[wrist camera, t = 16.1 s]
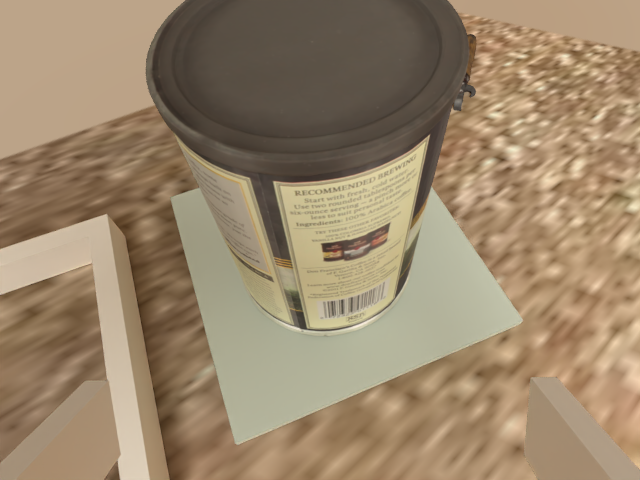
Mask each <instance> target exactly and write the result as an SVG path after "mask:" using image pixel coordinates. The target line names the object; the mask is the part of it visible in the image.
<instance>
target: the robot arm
mask: <svg viewBox="0 0 640 480" xmlns="http://www.w3.org/2000/svg"><path fill="white" fill-rule="evenodd" d="M120 455H121V453H120V447H119V440H118V434H117V428H116V422H115V416H114V410H113V404H112V398H111V391H110V385H109V380H99V381H84V382H83V383H82V384H81V385H80V386H79V387H78V388H77V389H76V390H75V391H74V392H73V393H72V394H71V395H70V396H69V397H68V398H67V399H66V400H65V401H64V402H63V403H62V404H61V405H60V406H59V407H58V408H56V409H55V410H54V411H53V412H52V413H51V414H50V415H49V416H48V417H47V418H46V419H45V420H44V421H43V422H42V423H41V424H40V425H39V426H38V427H37V428H36V429H35V430H34V431H33V432H32V433H31V434H30V435H29V436H28V437H27V438H25V439H24V440H23V441H22V442H21V443H20V444H19V445H18V446H17V447H16V448H15V449H14V450H13V451H12V452H11V453H10V454H9V455H8V456H7V457H6V458H5V459H4V460H3V461H2V462H1V463H0V480H104V479H105V477H106V476H107V474H108V473H109V471H110V470H111V468H112V467H113V466H114V464H115V463H116V461H117V460H118V458H119V457H120ZM524 456H525V458H526V460H527V462H528V463H529V465H530V467H531V468H532V470H533V472H534V474H535V475H536V477H537V479H538V480H640V470H639V468H638V467H637V466H636V465H635V464H634V463H633V462H632V461H631V460H630V458H629V457H628V456H627V455H626V454H625V453H624V452H623V451H622V450H621V448H620V447H619V446H618V445H617V444H616V443H615V442H614V441H613V439H612V438H611V437H610V436H609V435H608V434H607V433H606V432H605V431H604V429H603V428H602V427H601V426H600V425H599V424H598V423H597V422H596V421H595V419H594V418H593V417H592V416H591V415H590V414H589V413H588V412H587V410H586V409H585V408H584V407H583V406H582V405H581V404H580V403H579V402H578V400H577V399H576V398H575V397H574V396H573V395H572V394H571V393H570V392H569V390H568V389H567V388H566V387H565V386H564V385H563V384H562V383H561V382H560V380H559V379H558V378H557V377H531V379H530V390H529V402H528V413H527V425H526V436H525V448H524Z"/></svg>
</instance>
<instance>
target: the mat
mask: <svg viewBox="0 0 640 480" xmlns="http://www.w3.org/2000/svg"><path fill="white" fill-rule="evenodd" d="M170 199H171V203H172V207H173V210H174V214H175V218H176V222H177V225H178V229H179V233H180V237H181V241H182V244H183V248H184V252H185V256H186V260H187V263H188V267H189V271H190V275H191V278H192V282H193V286H194V290H195V294H196V297H197V301H198V305H199V309H200V313H201V316H202V320H203V324H204V328H205V331H206V335H207V339H208V343H209V347H210V350H211V354H212V358H213V362H214V366H215V369H216V373H217V377H218V381H219V384H220V388H221V392H222V396H223V400H224V403H225V407H226V411H227V415H228V418H229V422H230V426H231V430H232V434H233V437H234V441H235V444H237V445H239V444H241V443H244V442H246V441H248V440H251V439H253V438H255V437H258V436H260V435H262V434H265V433H267V432H269V431H272V430H274V429H276V428H279V427H281V426H283V425H286V424H288V423H290V422H293V421H295V420H297V419H300V418H302V417H304V416H307V415H309V414H311V413H314V412H316V411H318V410H321V409H323V408H325V407H328V406H330V405H332V404H335V403H337V402H340V401H342V400H344V399H347V398H349V397H351V396H354V395H356V394H358V393H361V392H363V391H365V390H368V389H370V388H372V387H375V386H377V385H379V384H382V383H384V382H386V381H389V380H391V379H393V378H396V377H398V376H400V375H403V374H405V373H407V372H410V371H412V370H414V369H417V368H419V367H421V366H424V365H426V364H428V363H431V362H433V361H435V360H438V359H440V358H442V357H445V356H447V355H449V354H452V353H454V352H456V351H459V350H461V349H464V348H466V347H468V346H471V345H473V344H475V343H478V342H480V341H482V340H485V339H487V338H489V337H492V336H494V335H496V334H499V333H501V332H503V331H506V330H508V329H510V328H513V327H515V326H517V325H520V324H521V323H522V321H523V319H522V318H521V316H520V315H519V313H518V312H517V310H516V309H515V308H514V306H513V305H512V303H511V302H510V300H509V299H508V297H507V296H506V294H505V293H504V291H503V290H502V289H501V287H500V286H499V284H498V283H497V281H496V280H495V278H494V277H493V275H492V274H491V273H490V271H489V270H488V268H487V267H486V265H485V264H484V262H483V261H482V259H481V258H480V256H479V255H478V254H477V252H476V251H475V249H474V248H473V246H472V245H471V243H470V242H469V240H468V239H467V238H466V236H465V235H464V233H463V232H462V230H461V229H460V227H459V226H458V224H457V223H456V222H455V220H454V219H453V217H452V216H451V214H450V213H449V211H448V210H447V208H446V207H445V205H444V204H443V203H442V201H441V200H440V198H439V197H438V195H437V194H436V192H435V191H434V189H433V188H432V187H431V189H430V193H429V197H428V201H427V205H426V209H425V213H424V217H423V221H422V225H421V229H420V232H419V237H418V241H417V244H416V248H415V253H414V256H413V260H412V269H411V274H410V278H409V280H408V283H407V286H406V288H405V290H404V292H403V294H402V295H401V297H400V298H399V299H398V301H397V303H396V304H395V305H394V306H393V308H392V309H390V310H389V311H388V312H387V313H386V314H385V315H383V316H382V317H381V318H379V319H378V320H376V321H375V322H373V323H372V324H370V325H368V326H366V327H364V328H362V329H359V330H356V331H353V332H350V333H346V334H340V335H334V336H328V337H327V336H313V335H306V334H301V333H298V332H294V331H291V330H289V329H286V328H284V327H282V326H280V325H278V324H277V323H275V322H274V321H272V320H271V319H270V318H268V317H267V316H265V315H264V314H262V312H261V311H260V310H259V309H258V307H257V306H256V305H255V304H254V303H253V301H252V300H251V298H250V297H249V295H248V293H247V291H246V289H245V287H244V284H243V281H242V278H241V275H240V273H239V271H238V268H237V266H236V264H235V262H234V260H233V258H232V256H231V254H230V251H229V249H228V247H227V245H226V243H225V240H224V239H223V237H222V235H221V233H220V231H219V228H218V226H217V224H216V222H215V219H214V217H213V215H212V213H211V211H210V209H209V207H208V205H207V203H206V200H205V198H204V196H203V194H202V192H201V189H200V188H197V189H194V190H191V191H188V192H185V193H182V194H179V195H176V196H173V197H170Z"/></svg>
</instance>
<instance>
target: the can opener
mask: <svg viewBox="0 0 640 480" xmlns="http://www.w3.org/2000/svg"><path fill="white" fill-rule="evenodd" d="M467 36H468V41H469V61H468V66H467V71H466V75H465V78H464V81H463V84H462V86H461V89H460V92H459V94H458V96H457V98H456V100H455V102H454V110H459V111H461V105H462V102H463V95H464V92H466V91H470V92H471V96H470V97H472V96H474V95H475V93H476V90H475V89H474V87H473V86H470V85H467V83H468V81H469V80H470V73H471V66H472V62H473V59H474V56H475V50H476V37H475V36H474V35H472V34H469V35H467Z"/></svg>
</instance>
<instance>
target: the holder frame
mask: <svg viewBox="0 0 640 480" xmlns="http://www.w3.org/2000/svg"><path fill="white" fill-rule="evenodd" d="M91 263H92V265H93V273H94V281H95V289H96V296H97V304H98V312H99V320H100V327H101V335H102V343H103V351H104V358H105V366H106V374H107V380H109V385H110V391H111V398H112V404H113V410H114V416H115V422H116V428H117V434H118V440H119V447H120V453H121V455H120V457H119V458H118V467H119V475H120V480H170V479H169V473H168V468H167V462H166V457H165V451H164V446H163V440H162V435H161V429H160V424H159V418H158V413H157V407H156V402H155V396H154V391H153V386H152V380H151V375H150V369H149V364H148V358H147V353H146V347H145V342H144V336H143V331H142V325H141V320H140V314H139V309H138V303H137V298H136V292H135V287H134V282H133V276H132V271H131V265H130V260H129V254H128V249H127V243H126V238H125V235H124V234H123V233H122V232H121V230H120V229H119V228H118V227H117V225H116V224H115V223H114V222H113V221H112V219H111V218H110V217H109V216H108V214H105V215H102V216H99V217H96V218H93V219H90V220H87V221H84V222H81V223H78V224H75V225H72V226H69V227H66V228H63V229H59V230H56V231H53V232H50V233H47V234H44V235H41V236H38V237H35V238H32V239H29V240H26V241H23V242H20V243H17V244H14V245H11V246H8V247H5V248H2V249H0V295H1V294H4V293H7V292H10V291H13V290H16V289H19V288H21V287H24V286H27V285H30V284H33V283H36V282H39V281H42V280H45V279H48V278H50V277H53V276H56V275H59V274H62V273H65V272H68V271H71V270H74V269H77V268H79V267H82V266H85V265H88V264H91Z"/></svg>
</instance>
